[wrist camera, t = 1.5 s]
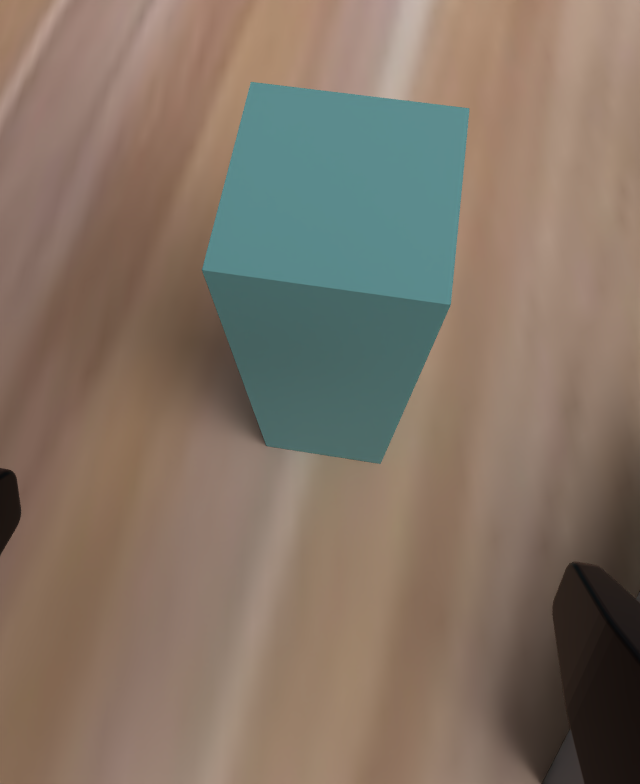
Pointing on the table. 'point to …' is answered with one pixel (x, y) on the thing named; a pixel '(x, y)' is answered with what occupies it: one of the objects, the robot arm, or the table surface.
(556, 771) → the box
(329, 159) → the handle block
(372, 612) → the table surface
